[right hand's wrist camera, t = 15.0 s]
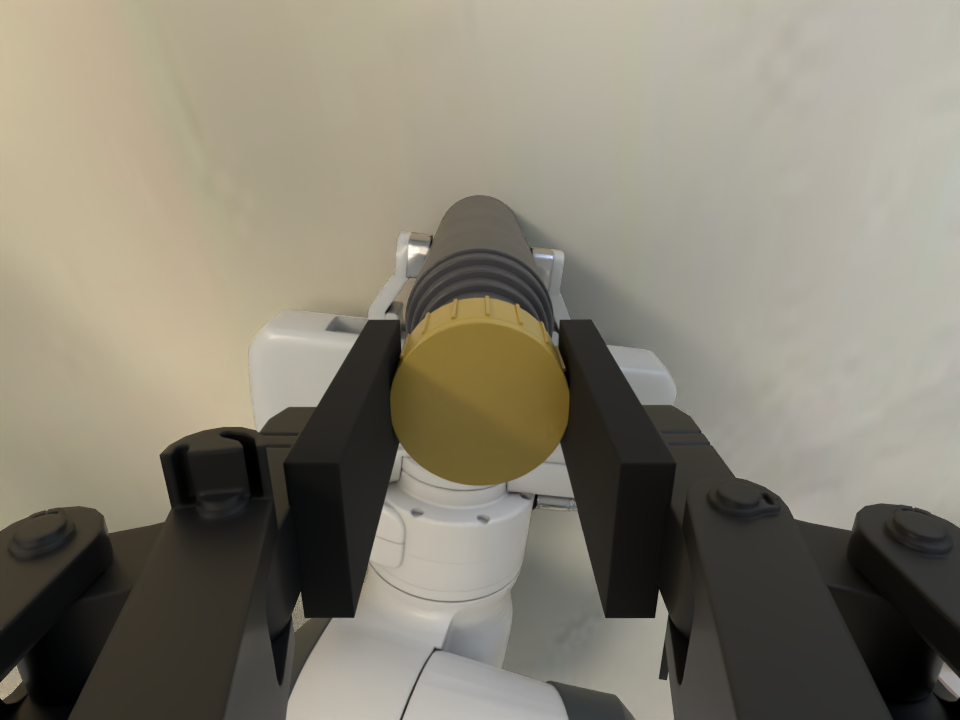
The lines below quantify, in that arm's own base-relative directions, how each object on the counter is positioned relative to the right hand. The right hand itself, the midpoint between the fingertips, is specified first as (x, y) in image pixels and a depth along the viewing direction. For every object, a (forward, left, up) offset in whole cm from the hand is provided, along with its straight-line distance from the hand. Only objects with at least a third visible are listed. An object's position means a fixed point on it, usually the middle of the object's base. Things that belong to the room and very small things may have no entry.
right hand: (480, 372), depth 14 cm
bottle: (0, 0, -20) cm, 20 cm away
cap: (0, 0, +2) cm, 2 cm away
